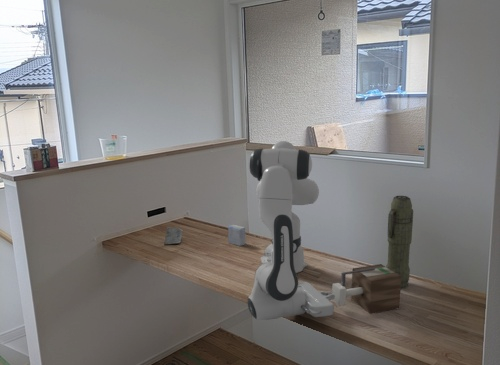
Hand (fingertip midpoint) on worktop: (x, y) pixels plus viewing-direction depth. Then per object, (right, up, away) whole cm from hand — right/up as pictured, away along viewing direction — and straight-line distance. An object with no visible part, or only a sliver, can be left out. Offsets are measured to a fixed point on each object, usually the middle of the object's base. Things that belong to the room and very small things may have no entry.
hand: (332, 295), depth 165 cm
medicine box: (-35, +8, +72) cm, 81 cm away
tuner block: (+16, -5, +7) cm, 18 cm away
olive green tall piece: (+29, -1, +24) cm, 38 cm away
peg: (+9, -2, +4) cm, 10 cm away
